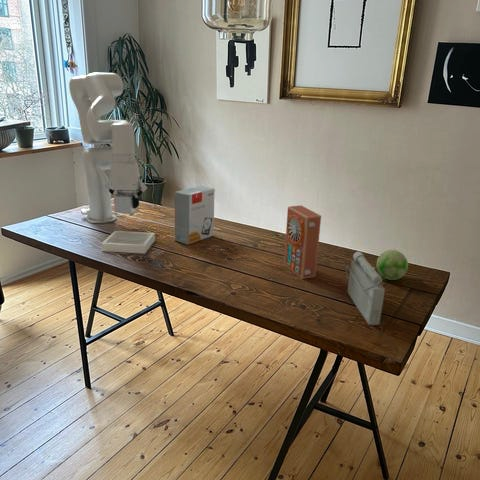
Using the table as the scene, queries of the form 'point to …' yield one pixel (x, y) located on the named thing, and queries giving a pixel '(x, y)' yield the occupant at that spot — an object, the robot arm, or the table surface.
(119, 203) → the block
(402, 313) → the table surface
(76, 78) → the robot arm
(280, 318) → the table surface
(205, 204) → the hard drive box
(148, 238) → the white shallow square tray
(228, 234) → the table surface
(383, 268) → the decorative ball
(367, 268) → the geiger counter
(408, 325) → the table surface
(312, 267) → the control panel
